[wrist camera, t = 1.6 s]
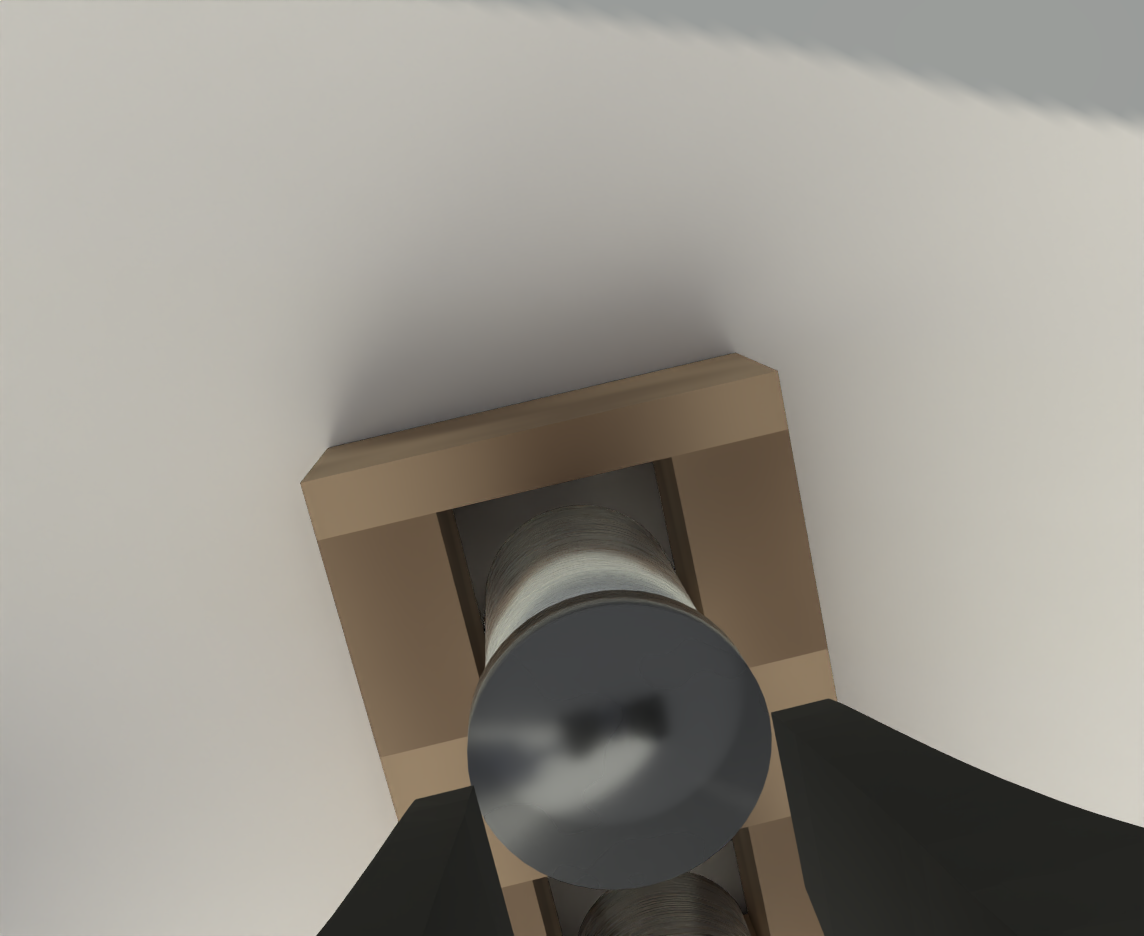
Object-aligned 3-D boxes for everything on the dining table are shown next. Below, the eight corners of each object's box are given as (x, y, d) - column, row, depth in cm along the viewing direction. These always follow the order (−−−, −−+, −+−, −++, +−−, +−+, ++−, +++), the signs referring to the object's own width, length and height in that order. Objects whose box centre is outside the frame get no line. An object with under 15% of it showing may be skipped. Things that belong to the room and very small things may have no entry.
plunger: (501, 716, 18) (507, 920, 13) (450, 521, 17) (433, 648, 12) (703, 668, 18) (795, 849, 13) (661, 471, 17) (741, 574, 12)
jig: (559, 1272, 24) (569, 1412, 21) (328, 447, 20) (299, 482, 17) (892, 1186, 25) (947, 1313, 22) (735, 352, 20) (777, 371, 17)
